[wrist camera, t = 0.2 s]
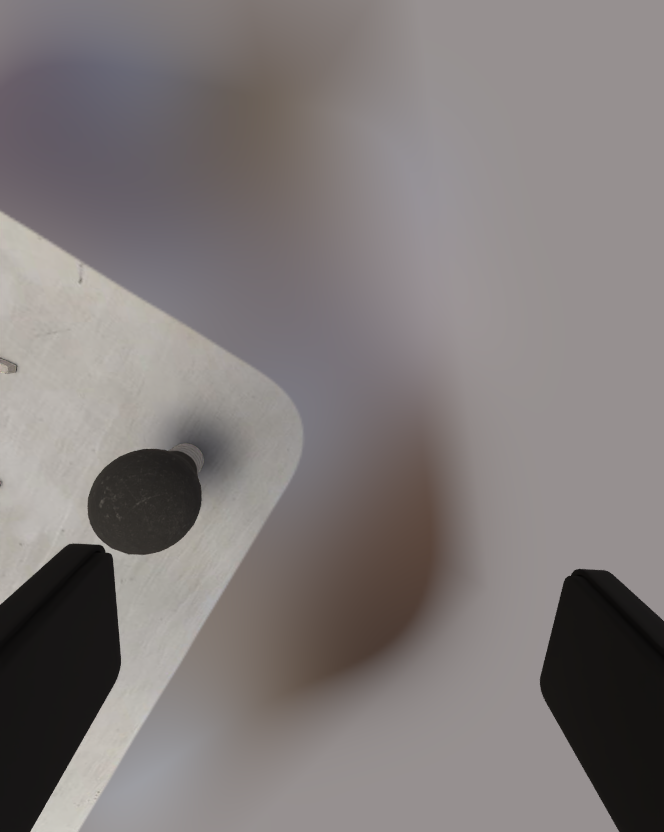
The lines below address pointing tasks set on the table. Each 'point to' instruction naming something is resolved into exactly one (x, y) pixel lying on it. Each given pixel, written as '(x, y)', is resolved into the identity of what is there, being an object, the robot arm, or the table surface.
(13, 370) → the pliers
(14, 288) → the table surface
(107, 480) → the light bulb
